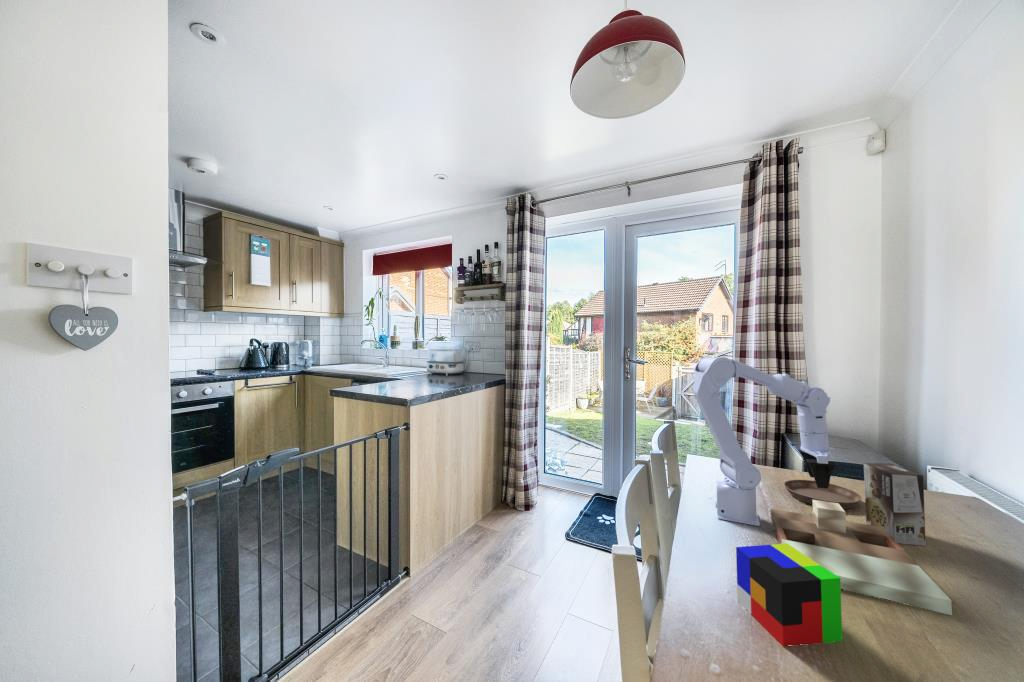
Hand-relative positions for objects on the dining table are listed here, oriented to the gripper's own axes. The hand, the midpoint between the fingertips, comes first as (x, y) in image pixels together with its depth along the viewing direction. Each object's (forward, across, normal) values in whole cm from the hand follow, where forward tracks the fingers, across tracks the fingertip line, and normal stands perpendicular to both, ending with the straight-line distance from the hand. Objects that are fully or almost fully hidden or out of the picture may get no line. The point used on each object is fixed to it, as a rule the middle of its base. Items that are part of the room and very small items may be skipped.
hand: (818, 482), depth 96 cm
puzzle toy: (+8, -47, +15) cm, 50 cm away
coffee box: (+11, -2, -13) cm, 17 cm away
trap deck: (+9, -19, +1) cm, 21 cm away
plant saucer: (+11, +16, -3) cm, 20 cm away
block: (+7, -10, +1) cm, 12 cm away
